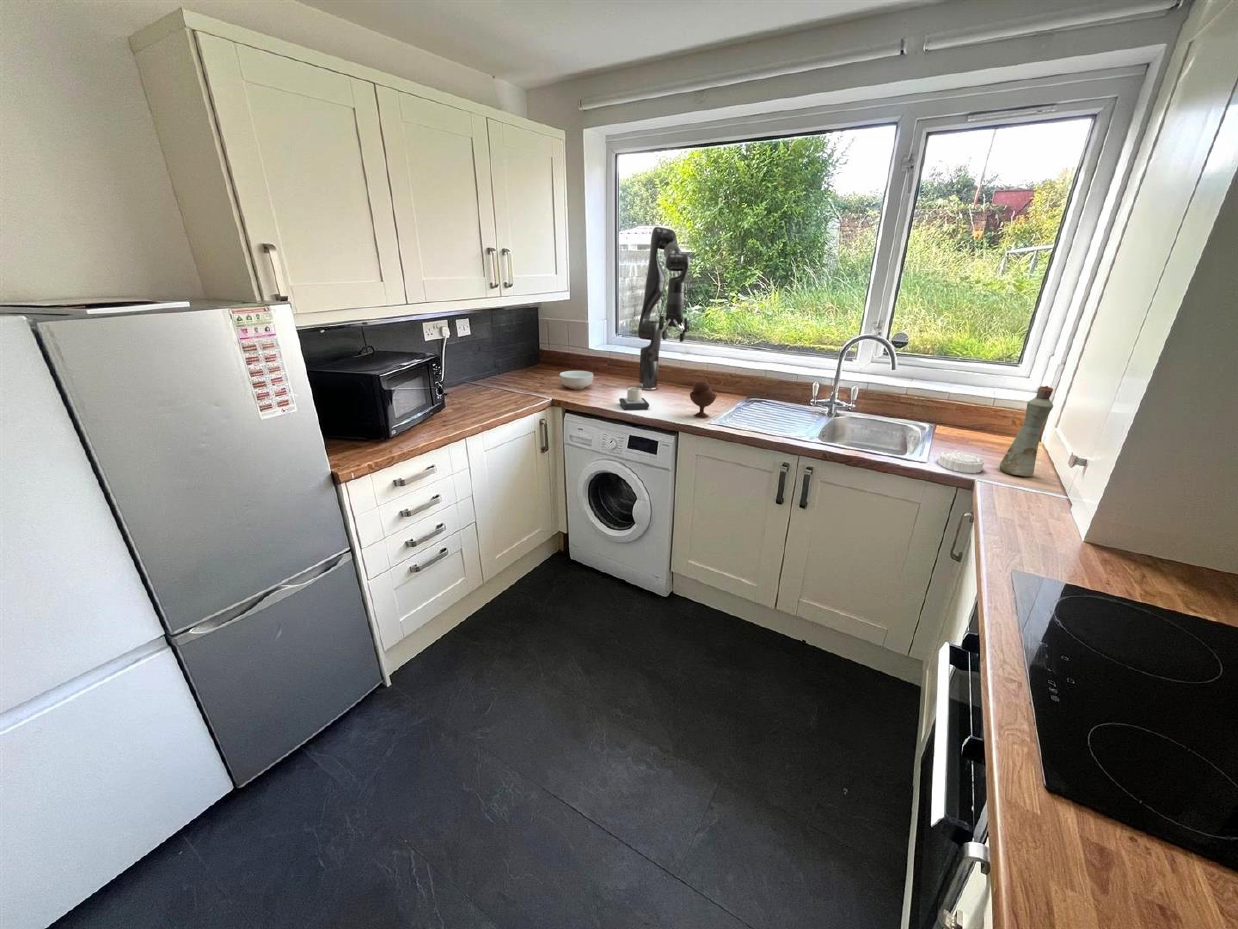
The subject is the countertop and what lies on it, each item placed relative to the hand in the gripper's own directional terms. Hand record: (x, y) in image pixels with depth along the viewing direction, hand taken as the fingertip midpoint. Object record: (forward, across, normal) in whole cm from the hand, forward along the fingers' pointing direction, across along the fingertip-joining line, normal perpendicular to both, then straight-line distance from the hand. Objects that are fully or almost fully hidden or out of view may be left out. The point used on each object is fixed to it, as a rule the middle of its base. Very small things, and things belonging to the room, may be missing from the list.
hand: (672, 340), depth 224 cm
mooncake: (+26, +116, -16) cm, 120 cm away
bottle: (+26, +131, -11) cm, 134 cm away
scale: (+26, -5, -24) cm, 36 cm away
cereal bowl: (+27, -46, -12) cm, 55 cm away
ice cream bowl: (+26, +25, -18) cm, 41 cm away
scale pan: (+25, -5, -24) cm, 35 cm away
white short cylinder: (+23, -5, -24) cm, 33 cm away
